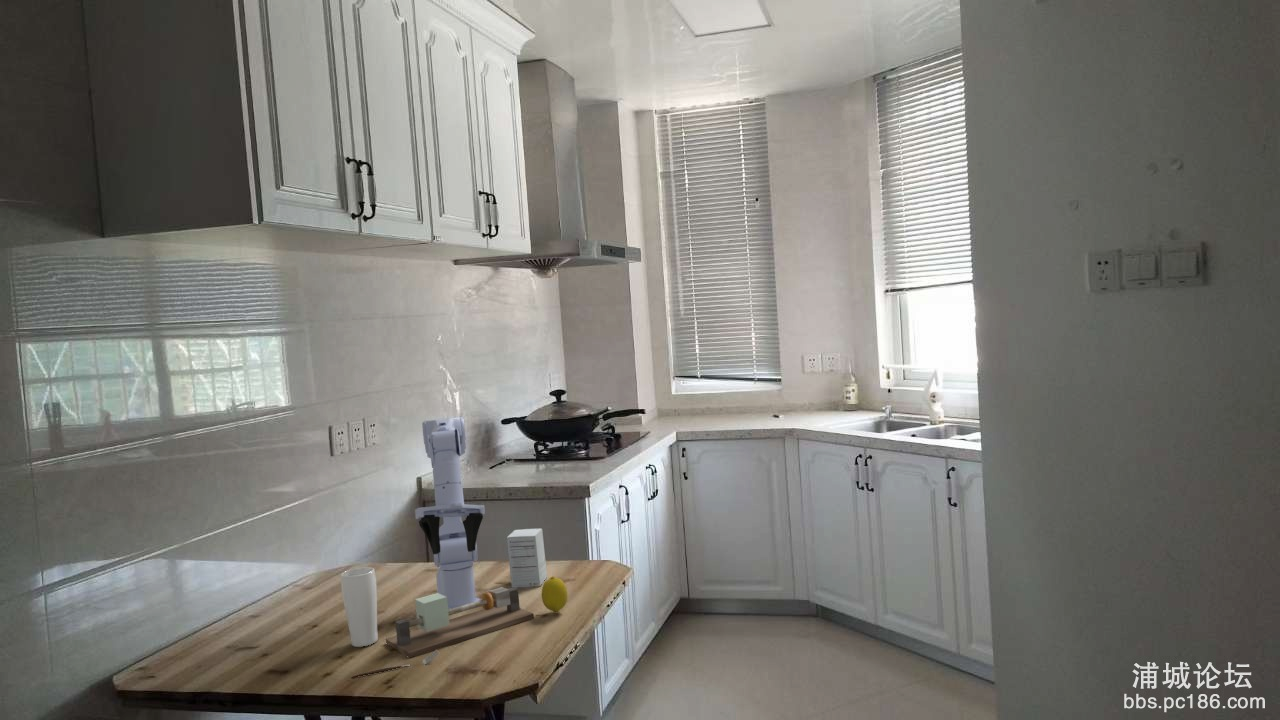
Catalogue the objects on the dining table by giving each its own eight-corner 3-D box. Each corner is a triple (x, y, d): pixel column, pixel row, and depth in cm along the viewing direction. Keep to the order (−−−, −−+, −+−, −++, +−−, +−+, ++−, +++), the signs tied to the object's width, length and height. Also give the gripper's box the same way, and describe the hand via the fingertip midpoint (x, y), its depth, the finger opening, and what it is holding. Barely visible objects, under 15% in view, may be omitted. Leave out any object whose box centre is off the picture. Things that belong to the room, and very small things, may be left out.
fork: (350, 677, 159) (349, 667, 159) (437, 659, 164) (436, 648, 164) (351, 682, 156) (350, 672, 156) (439, 663, 162) (438, 653, 162)
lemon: (564, 617, 181) (561, 580, 181) (540, 617, 182) (536, 580, 182) (572, 608, 187) (568, 572, 186) (547, 608, 188) (544, 573, 188)
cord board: (386, 643, 175) (383, 613, 174) (506, 606, 192) (504, 579, 192) (409, 658, 165) (406, 626, 165) (533, 618, 182) (531, 589, 182)
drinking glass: (372, 634, 181) (365, 565, 180) (387, 641, 176) (380, 569, 175) (341, 645, 176) (334, 573, 176) (356, 652, 171) (349, 578, 171)
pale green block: (417, 627, 175) (415, 599, 175) (440, 620, 178) (437, 592, 178) (426, 631, 171) (423, 603, 171) (449, 624, 175) (446, 596, 174)
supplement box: (519, 579, 213) (514, 529, 213) (547, 577, 212) (543, 527, 212) (510, 588, 206) (505, 536, 206) (540, 587, 205) (535, 535, 205)
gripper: (422, 482, 170) (428, 550, 166) (488, 481, 179) (495, 545, 174) (409, 491, 175) (414, 557, 171) (473, 489, 184) (480, 552, 179)
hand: (454, 552), depth 173 cm, fingers open, 7 cm apart
